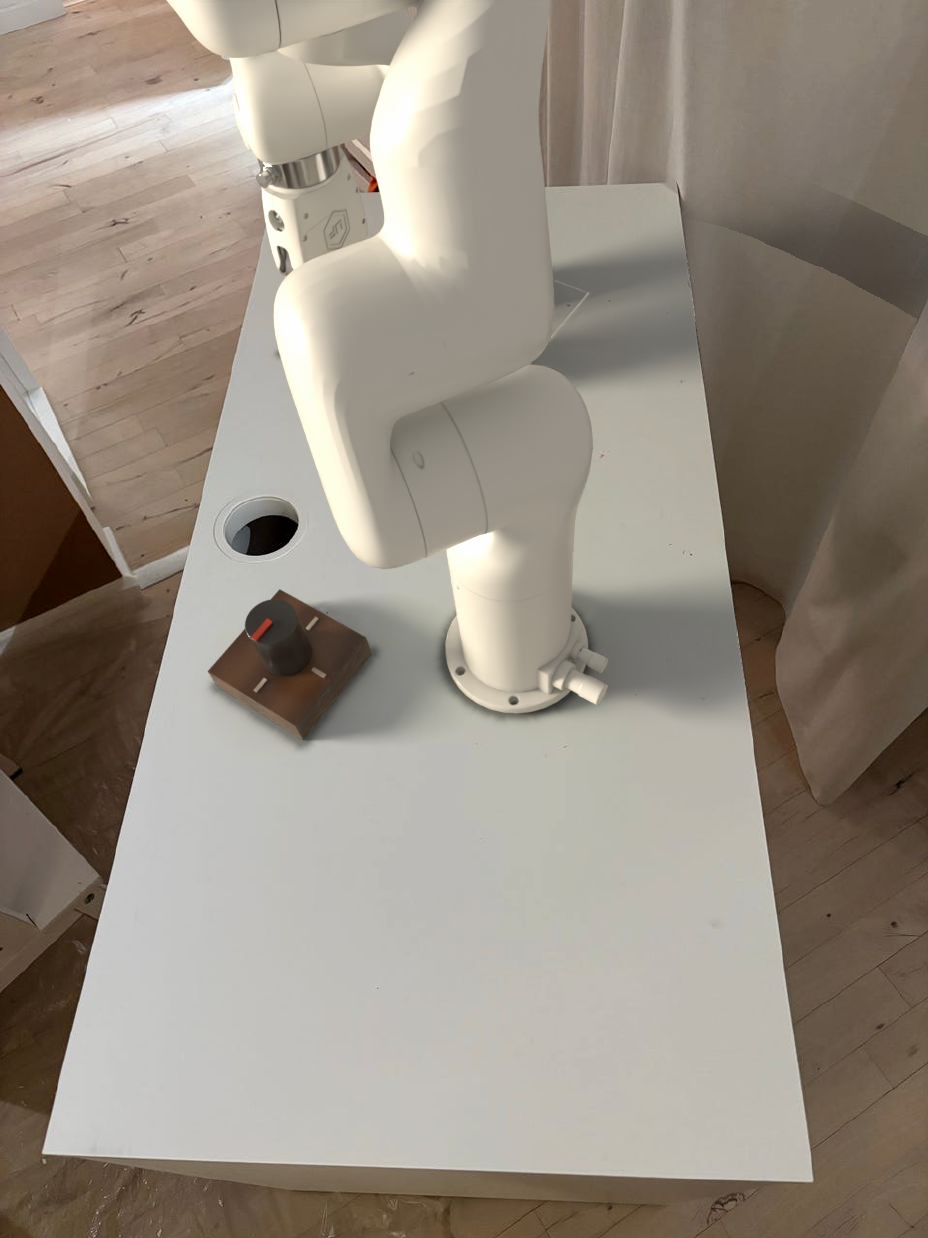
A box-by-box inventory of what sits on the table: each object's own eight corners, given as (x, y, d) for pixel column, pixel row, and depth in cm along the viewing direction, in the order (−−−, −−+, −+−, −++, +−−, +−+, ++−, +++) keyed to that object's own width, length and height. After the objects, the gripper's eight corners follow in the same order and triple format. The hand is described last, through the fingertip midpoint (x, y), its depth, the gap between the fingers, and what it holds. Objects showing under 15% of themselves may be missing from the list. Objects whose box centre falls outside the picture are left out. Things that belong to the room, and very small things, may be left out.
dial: (283, 624, 84) (266, 588, 80) (321, 646, 83) (307, 611, 78) (251, 661, 83) (232, 627, 78) (290, 684, 81) (273, 651, 76)
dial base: (372, 654, 86) (366, 636, 83) (303, 741, 82) (295, 725, 79) (287, 606, 89) (279, 587, 86) (217, 687, 85) (206, 670, 83)
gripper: (278, 212, 84) (321, 366, 100) (378, 123, 90) (403, 282, 106) (216, 188, 87) (267, 342, 102) (316, 103, 93) (350, 261, 108)
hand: (336, 311), depth 104 cm, fingers closed
